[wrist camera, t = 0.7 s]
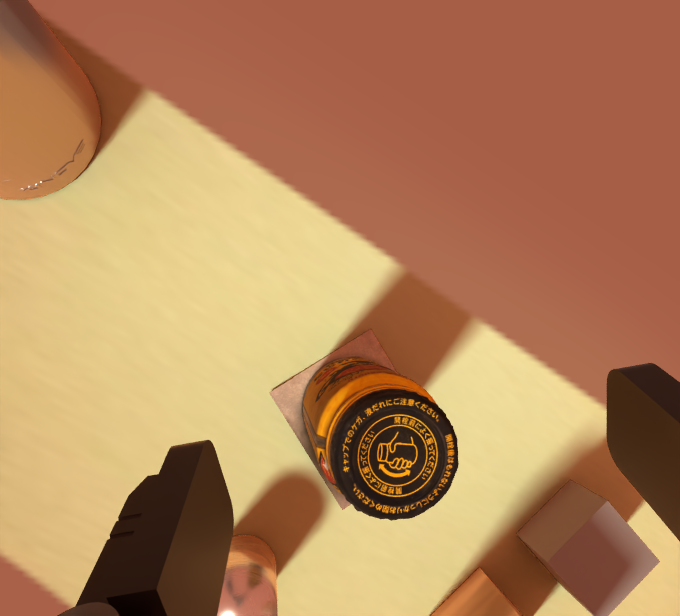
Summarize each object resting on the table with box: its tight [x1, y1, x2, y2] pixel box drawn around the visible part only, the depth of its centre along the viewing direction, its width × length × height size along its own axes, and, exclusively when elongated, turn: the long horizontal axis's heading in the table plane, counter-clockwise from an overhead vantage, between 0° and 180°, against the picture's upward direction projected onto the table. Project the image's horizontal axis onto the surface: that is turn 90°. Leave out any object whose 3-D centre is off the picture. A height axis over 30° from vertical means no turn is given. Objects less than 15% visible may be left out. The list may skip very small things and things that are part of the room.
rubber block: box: [516, 480, 660, 616], centre depth 33 cm, size 5×5×4 cm
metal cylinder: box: [217, 535, 277, 616], centre depth 29 cm, size 4×4×5 cm
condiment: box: [270, 329, 458, 520], centre depth 27 cm, size 7×8×12 cm
